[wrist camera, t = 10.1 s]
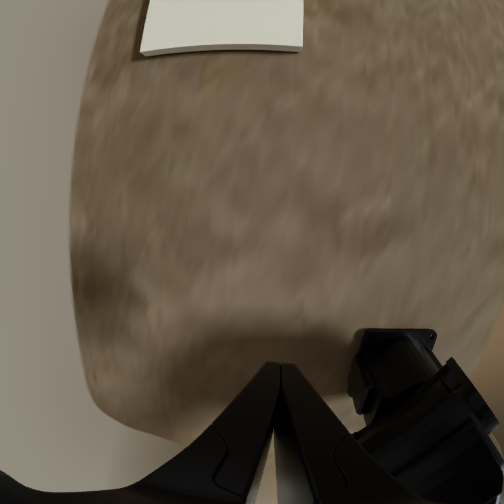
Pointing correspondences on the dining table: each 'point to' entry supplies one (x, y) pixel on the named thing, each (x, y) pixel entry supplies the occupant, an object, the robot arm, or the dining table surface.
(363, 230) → the dining table surface
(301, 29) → the green-marked white board
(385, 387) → the robot arm
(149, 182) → the dining table surface
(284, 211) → the dining table surface
